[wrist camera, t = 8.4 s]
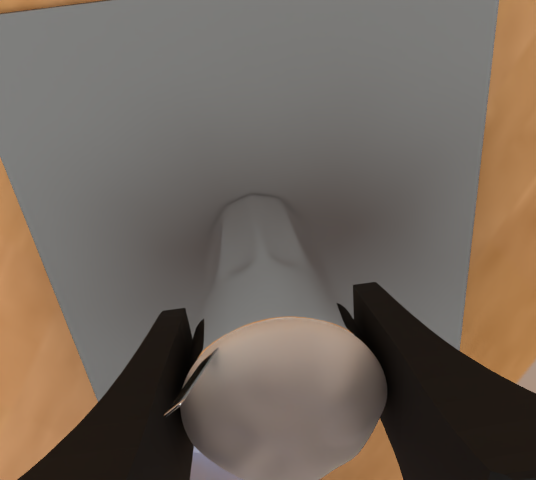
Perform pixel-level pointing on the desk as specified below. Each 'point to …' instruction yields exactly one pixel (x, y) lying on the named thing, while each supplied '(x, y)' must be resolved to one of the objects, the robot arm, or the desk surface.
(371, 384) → the milkshake
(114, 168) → the mat
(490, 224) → the desk surface
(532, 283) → the desk surface
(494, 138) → the desk surface
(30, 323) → the desk surface
